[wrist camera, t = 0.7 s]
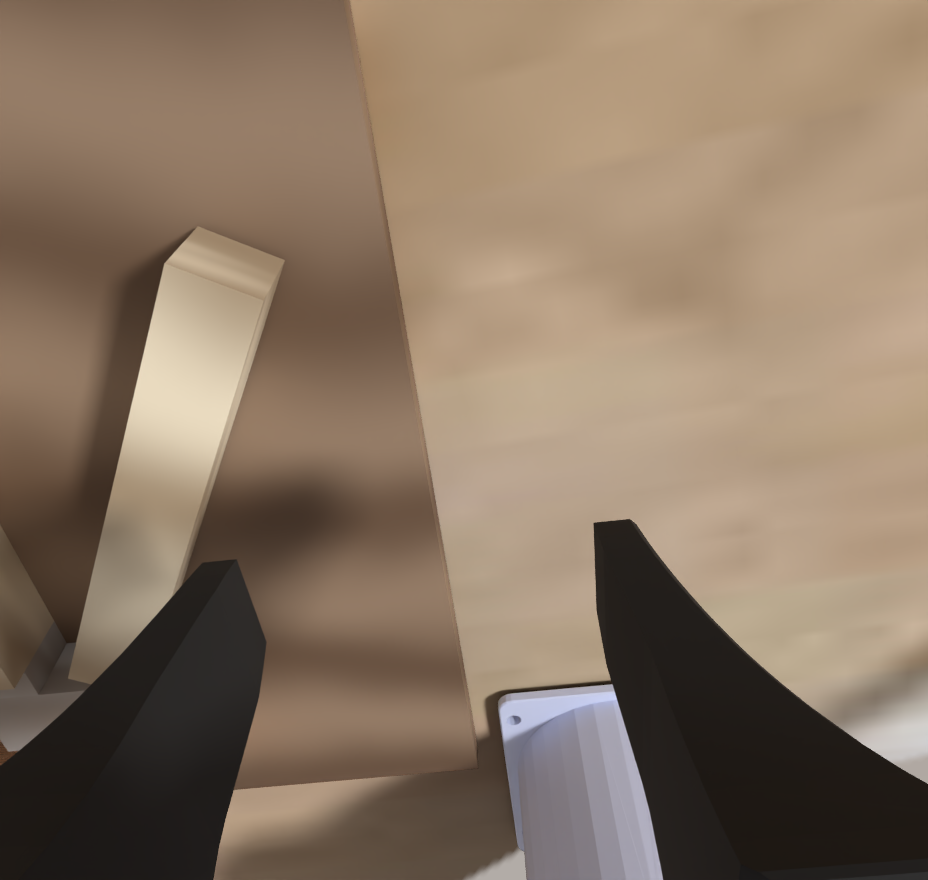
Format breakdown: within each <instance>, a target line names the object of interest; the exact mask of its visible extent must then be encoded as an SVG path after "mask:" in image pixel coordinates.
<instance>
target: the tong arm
mask: <svg viewBox="0 0 928 880" xmlns="http://www.w3.org/2000/svg"><path fill="white" fill-rule="evenodd" d="M284 262H285V260H283V259H281V258H278V257H275V256H273V255H270V254H268V253H265V252H263V251H260V250H258V249H255V248H252V247H250V246H247V245H245V244H242V243H240V242H237V241H234V240H232V239H229V238H227V237H224V236H222V235H219V234H216V233H214V232H211V231H209V230H206V229H204V228H201V227H197V228H196V229H195V230H194V231H193V232H192V233H191V234H190V236H189V237H188V238H187V239H186V240H185V241H184V242H183V243H182V244H181V246H180V247H179V248H178V249H177V250H176V251H175V252H174V253H173V254H172V256H171V257H170V258H169V259H168V260H167V261H166V262H165V263H164V268H163V272H162V276H161V280H160V285H159V289H158V293H157V298H156V302H155V306H154V311H153V315H152V319H151V323H150V328H149V332H148V336H147V341H146V345H145V349H144V354H143V358H142V362H141V366H140V371H139V375H138V379H137V384H136V388H135V392H134V397H133V401H132V405H131V409H130V414H129V418H128V422H127V427H126V431H125V435H124V439H123V444H122V448H121V452H120V457H119V461H118V465H117V470H116V474H115V478H114V482H113V487H112V491H111V495H110V500H109V504H108V508H107V513H106V517H105V521H104V525H103V530H102V534H101V538H100V543H99V547H98V551H97V556H96V560H95V564H94V568H93V573H92V577H91V581H90V586H89V590H88V594H87V599H86V603H85V607H84V611H83V616H82V620H81V624H80V629H79V633H78V637H77V642H76V646H75V650H74V654H73V659H72V663H71V667H70V672H69V676H68V679H72V680H76V681H80V682H84V683H88V684H92V683H93V682H94V681H95V680H96V679H97V678H98V677H99V676H100V675H101V674H102V673H103V672H104V671H105V670H106V669H107V668H108V667H109V666H110V665H111V664H112V663H113V662H114V661H115V660H116V659H117V658H118V657H119V656H120V655H121V654H122V652H123V651H124V650H125V649H126V648H127V647H128V646H129V645H130V644H131V643H132V642H133V640H134V639H135V638H136V637H137V636H138V635H139V634H140V633H141V631H142V630H143V629H144V628H145V627H146V626H147V625H148V624H149V623H150V621H151V620H152V619H153V618H154V617H155V616H156V615H157V614H158V612H159V611H160V610H161V609H162V608H163V607H164V606H165V604H166V603H167V602H168V601H169V600H170V599H171V598H172V596H173V595H174V594H175V593H176V592H177V591H178V589H179V588H180V587H181V586H182V583H183V580H184V577H185V574H186V571H187V567H188V564H189V561H190V558H191V555H192V552H193V549H194V545H195V542H196V539H197V536H198V533H199V530H200V526H201V523H202V520H203V517H204V514H205V511H206V508H207V504H208V501H209V498H210V495H211V492H212V489H213V485H214V482H215V479H216V476H217V473H218V470H219V467H220V463H221V460H222V457H223V454H224V451H225V448H226V444H227V441H228V438H229V435H230V432H231V429H232V426H233V422H234V419H235V416H236V413H237V410H238V407H239V403H240V400H241V397H242V394H243V391H244V388H245V385H246V381H247V378H248V375H249V372H250V369H251V366H252V362H253V359H254V356H255V353H256V350H257V347H258V344H259V340H260V337H261V334H262V331H263V328H264V325H265V321H266V318H267V315H268V312H269V309H270V306H271V303H272V299H273V296H274V293H275V290H276V287H277V284H278V280H279V277H280V274H281V271H282V268H283V265H284Z"/></svg>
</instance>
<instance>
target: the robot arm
mask: <svg viewBox="0 0 928 880" xmlns="http://www.w3.org/2000/svg"><path fill="white" fill-rule="evenodd" d="M594 547H595V576H596V604H597V615H598V620H599V626H600V631H601V637H602V643H603V648H604V653H605V659H606V664H607V668H608V671H609V674H610V678H611V681H612V684H609V685H598V686H587V687H576V688H565V689H554V690H543V691H532V692H521V693H511V694H506V695H504V696H503V697H501V698H500V699H499V701H498V712H499V719H500V726H501V733H502V740H503V747H504V754H505V761H506V768H507V775H508V782H509V789H510V796H511V803H512V809H513V816H514V823H515V830H516V837H517V844H518V847H519V849H521V850H522V851H524V853H525V865H526V877H527V880H928V784H927V783H925V782H923V781H922V780H920V779H918V778H916V777H914V776H913V775H911V774H909V773H907V772H906V771H904V770H902V769H901V768H899V767H897V766H896V765H894V764H893V763H891V762H890V761H888V760H886V759H885V758H883V757H882V756H880V755H879V754H877V753H875V752H874V751H872V750H871V749H869V748H868V747H866V746H865V745H863V744H861V743H860V742H859V741H857V740H856V739H855V738H853V737H852V736H850V735H849V734H848V733H846V732H845V731H843V730H842V729H841V728H839V727H838V726H836V725H835V724H834V723H832V722H831V721H829V720H828V719H827V718H825V717H824V716H822V715H821V714H820V713H818V712H817V711H815V710H814V709H813V708H811V707H810V706H809V705H807V704H806V703H805V702H804V701H802V700H801V699H800V698H799V697H797V696H796V695H795V694H794V693H792V692H791V691H790V690H789V689H788V688H786V687H785V686H784V685H783V684H781V683H780V682H779V681H778V680H777V679H775V678H774V677H773V676H772V675H771V674H770V673H769V672H767V671H766V670H765V669H764V668H763V667H762V666H760V665H759V664H758V663H757V662H756V661H755V660H754V659H753V658H752V657H750V656H749V655H748V654H747V653H746V652H745V651H744V650H743V649H742V648H741V647H740V646H739V645H738V644H737V643H736V642H735V641H734V640H733V639H732V638H731V637H730V636H729V635H728V634H727V633H726V632H725V631H724V630H723V629H722V628H721V627H720V626H719V625H718V624H717V623H716V622H715V621H714V620H713V619H712V618H711V617H710V616H709V615H708V614H707V613H706V612H705V610H704V609H703V608H702V607H701V606H700V605H699V604H698V603H697V602H696V600H695V599H694V598H693V597H692V596H691V595H690V594H689V592H688V591H687V590H686V589H685V588H684V587H683V586H682V584H681V583H680V582H679V581H678V580H677V579H676V577H675V576H674V575H673V574H672V572H671V571H670V570H669V569H668V567H667V566H666V565H665V564H664V562H663V561H662V560H661V558H660V557H659V556H658V555H657V553H656V552H655V551H654V549H653V548H652V546H651V545H650V544H649V542H648V541H647V539H646V538H645V537H644V535H643V534H642V532H641V531H640V529H639V528H638V526H637V524H635V523H634V522H633V521H632V520H630V519H626V520H617V521H607V522H597V523H594ZM266 643H267V642H266V639H265V636H264V633H263V630H262V628H261V625H260V622H259V619H258V617H257V614H256V611H255V608H254V606H253V603H252V600H251V597H250V595H249V592H248V589H247V586H246V584H245V581H244V578H243V575H242V573H241V570H240V567H239V564H238V561H237V559H233V560H223V561H213V562H203V563H202V564H201V565H200V566H199V567H198V568H197V569H196V570H195V571H194V572H193V573H192V575H191V576H190V577H189V578H188V579H187V580H186V581H185V583H184V584H183V585H182V586H181V587H180V588H179V589H178V591H177V592H176V593H175V594H174V595H173V596H172V598H171V599H170V600H169V601H168V602H167V603H166V604H165V606H164V607H163V608H162V609H161V610H160V611H159V612H158V614H157V615H156V616H155V617H154V618H153V619H152V620H151V621H150V623H149V624H148V625H147V626H146V627H145V628H144V629H143V630H142V631H141V633H140V634H139V635H138V636H137V637H136V638H135V639H134V640H133V642H132V643H131V644H130V645H129V646H128V647H127V648H126V649H125V650H124V651H123V652H122V654H121V655H120V656H119V657H118V658H117V659H116V660H115V661H114V662H113V663H112V664H111V665H110V666H109V667H108V668H107V669H106V670H105V671H104V672H103V673H102V674H101V675H100V676H99V677H98V678H97V679H96V680H95V681H94V682H93V683H92V684H91V685H90V686H89V687H88V688H87V689H86V690H85V691H84V692H83V693H82V694H81V695H80V696H79V697H78V698H77V699H76V700H75V701H74V702H73V703H72V704H71V705H70V706H69V707H68V708H67V709H66V710H65V711H64V712H63V713H61V714H60V715H59V716H58V717H57V718H56V719H55V720H54V721H53V722H52V723H50V724H49V725H48V726H47V727H46V728H45V729H44V730H42V731H41V732H40V733H39V734H38V735H37V736H36V737H34V738H33V739H32V740H31V741H30V742H29V743H28V744H26V745H25V746H24V747H23V748H22V749H21V750H19V751H18V752H17V753H16V754H15V755H13V756H12V757H11V758H9V759H8V760H7V761H6V762H4V763H3V764H2V765H0V880H213V878H214V872H215V866H216V861H217V855H218V849H219V844H220V840H221V836H222V832H223V827H224V823H225V819H226V815H227V812H228V808H229V804H230V801H231V797H232V794H233V790H234V787H235V783H236V779H237V776H238V772H239V769H240V765H241V762H242V758H243V754H244V751H245V747H246V744H247V740H248V736H249V733H250V729H251V725H252V722H253V718H254V714H255V711H256V707H257V703H258V699H259V694H260V688H261V681H262V675H263V667H264V659H265V651H266ZM513 715H514V716H513Z"/></svg>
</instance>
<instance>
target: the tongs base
mask: <svg viewBox="0 0 928 880" xmlns="http://www.w3.org/2000/svg"><path fill="white" fill-rule="evenodd" d="M197 227H201V228H204V229H206V230H209V231H211V232H214V233H216V234H219V235H222V236H224V237H227V238H229V239H232V240H234V241H237V242H240V243H242V244H245V245H247V246H250V247H252V248H255V249H258V250H260V251H263V252H265V253H268V254H270V255H273V256H275V257H278V258H281V259H283V260H285V262H284V265H283V268H282V271H281V274H280V277H279V280H278V284H277V287H276V290H275V293H274V296H273V299H272V303H271V306H270V309H269V312H268V315H267V318H266V321H265V325H264V328H263V331H262V334H261V337H260V340H259V344H258V347H257V350H256V353H255V356H254V359H253V362H252V366H251V369H250V372H249V375H248V378H247V381H246V385H245V388H244V391H243V394H242V397H241V400H240V403H239V407H238V410H237V413H236V416H235V419H234V422H233V426H232V429H231V432H230V435H229V438H228V441H227V444H226V448H225V451H224V454H223V457H222V460H221V463H220V467H219V470H218V473H217V476H216V479H215V482H214V485H213V489H212V492H211V495H210V498H209V501H208V504H207V508H206V511H205V514H204V517H203V520H202V523H201V526H200V530H199V533H198V536H197V539H196V542H195V545H194V549H193V552H192V555H191V558H190V561H189V564H188V567H187V571H186V574H185V577H184V580H183V583H182V585H183V584H184V583H185V581H186V580H187V579H188V578H189V577H190V576H191V575H192V573H193V572H194V571H195V570H196V569H197V568H198V567H199V566H200V565H201V564H202V563H203V562H213V561H223V560H233V559H237V561H238V564H239V567H240V570H241V573H242V575H243V578H244V581H245V584H246V586H247V589H248V592H249V595H250V597H251V600H252V603H253V606H254V608H255V611H256V614H257V617H258V619H259V622H260V625H261V628H262V630H263V633H264V636H265V639H266V642H267V643H266V651H265V659H264V667H263V675H262V681H261V688H260V694H259V699H258V703H257V707H256V711H255V714H254V718H253V722H252V725H251V729H250V733H249V736H248V740H247V744H246V747H245V751H244V754H243V758H242V762H241V765H240V769H239V772H238V776H237V779H236V783H235V787H234V790H237V789H248V788H260V787H271V786H283V785H294V784H306V783H317V782H329V781H340V780H352V779H363V778H375V777H386V776H398V775H410V774H421V773H433V772H444V771H456V770H467V769H478V749H477V740H476V734H475V728H474V722H473V716H472V711H471V705H470V699H469V693H468V687H467V681H466V676H465V670H464V664H463V658H462V652H461V647H460V641H459V635H458V629H457V623H456V617H455V612H454V606H453V600H452V594H451V588H450V582H449V577H448V571H447V565H446V559H445V553H444V548H443V542H442V536H441V530H440V524H439V518H438V513H437V507H436V501H435V495H434V489H433V483H432V478H431V472H430V466H429V460H428V454H427V449H426V443H425V437H424V431H423V425H422V419H421V414H420V408H419V402H418V396H417V390H416V384H415V379H414V373H413V367H412V361H411V355H410V350H409V344H408V338H407V332H406V326H405V320H404V315H403V309H402V303H401V297H400V291H399V285H398V280H397V274H396V268H395V262H394V256H393V251H392V245H391V239H390V233H389V227H388V221H387V216H386V210H385V204H384V198H383V192H382V186H381V181H380V175H379V169H378V163H377V157H376V151H375V146H374V140H373V134H372V128H371V122H370V117H369V111H368V105H367V99H366V93H365V87H364V82H363V76H362V70H361V64H360V58H359V52H358V47H357V41H356V35H355V29H354V23H353V18H352V12H351V6H350V0H0V740H1V742H2V743H3V745H4V746H5V748H6V749H7V751H8V752H10V751H19V750H21V749H22V748H23V747H24V746H25V745H26V744H28V743H29V742H30V741H31V740H32V739H33V738H34V737H36V736H37V735H38V734H39V733H40V732H41V731H42V730H44V729H45V728H46V727H47V726H48V725H49V724H50V723H52V722H53V721H54V720H55V719H56V718H57V717H58V716H59V715H60V714H61V713H63V712H64V711H65V710H66V709H67V708H68V707H69V706H70V705H71V704H72V703H73V702H74V701H75V700H76V699H77V698H78V697H79V696H80V695H81V694H82V693H83V692H84V691H85V690H86V689H87V688H88V687H89V686H90V685H91V684H88V683H84V682H80V681H76V680H72V679H68V676H69V672H70V667H71V663H72V659H73V654H74V650H75V646H76V642H77V637H78V633H79V629H80V624H81V620H82V616H83V611H84V607H85V603H86V599H87V594H88V590H89V586H90V581H91V577H92V573H93V568H94V564H95V560H96V556H97V551H98V547H99V543H100V538H101V534H102V530H103V525H104V521H105V517H106V513H107V508H108V504H109V500H110V495H111V491H112V487H113V482H114V478H115V474H116V470H117V465H118V461H119V457H120V452H121V448H122V444H123V439H124V435H125V431H126V427H127V422H128V418H129V414H130V409H131V405H132V401H133V397H134V392H135V388H136V384H137V379H138V375H139V371H140V366H141V362H142V358H143V354H144V349H145V345H146V341H147V336H148V332H149V328H150V323H151V319H152V315H153V311H154V306H155V302H156V298H157V293H158V289H159V285H160V280H161V276H162V272H163V268H164V263H165V262H166V261H167V260H168V259H169V258H170V257H171V256H172V254H173V253H174V252H175V251H176V250H177V249H178V248H179V247H180V246H181V244H182V243H183V242H184V241H185V240H186V239H187V238H188V237H189V236H190V234H191V233H192V232H193V231H194V230H195V229H196V228H197Z"/></svg>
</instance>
